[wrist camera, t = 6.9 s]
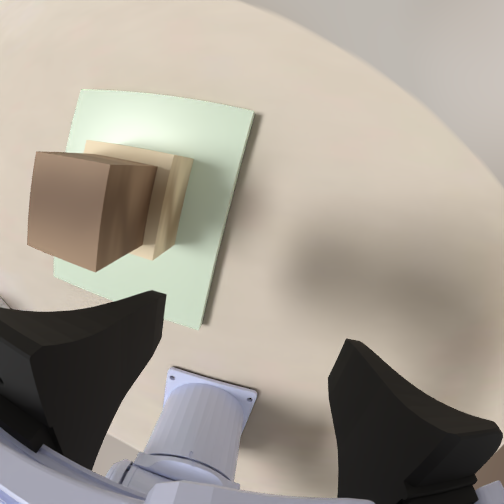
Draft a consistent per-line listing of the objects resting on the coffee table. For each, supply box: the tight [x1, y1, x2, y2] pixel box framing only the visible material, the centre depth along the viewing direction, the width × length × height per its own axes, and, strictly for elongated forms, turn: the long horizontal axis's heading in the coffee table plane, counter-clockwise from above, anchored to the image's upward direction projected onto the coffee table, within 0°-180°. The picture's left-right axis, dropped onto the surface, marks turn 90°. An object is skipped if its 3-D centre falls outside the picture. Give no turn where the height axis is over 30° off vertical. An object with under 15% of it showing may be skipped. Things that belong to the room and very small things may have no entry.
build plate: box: [54, 89, 255, 330], centre depth 20 cm, size 16×14×1 cm
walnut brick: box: [27, 152, 158, 273], centre depth 13 cm, size 4×4×5 cm
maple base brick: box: [84, 140, 194, 261], centre depth 17 cm, size 6×6×4 cm
